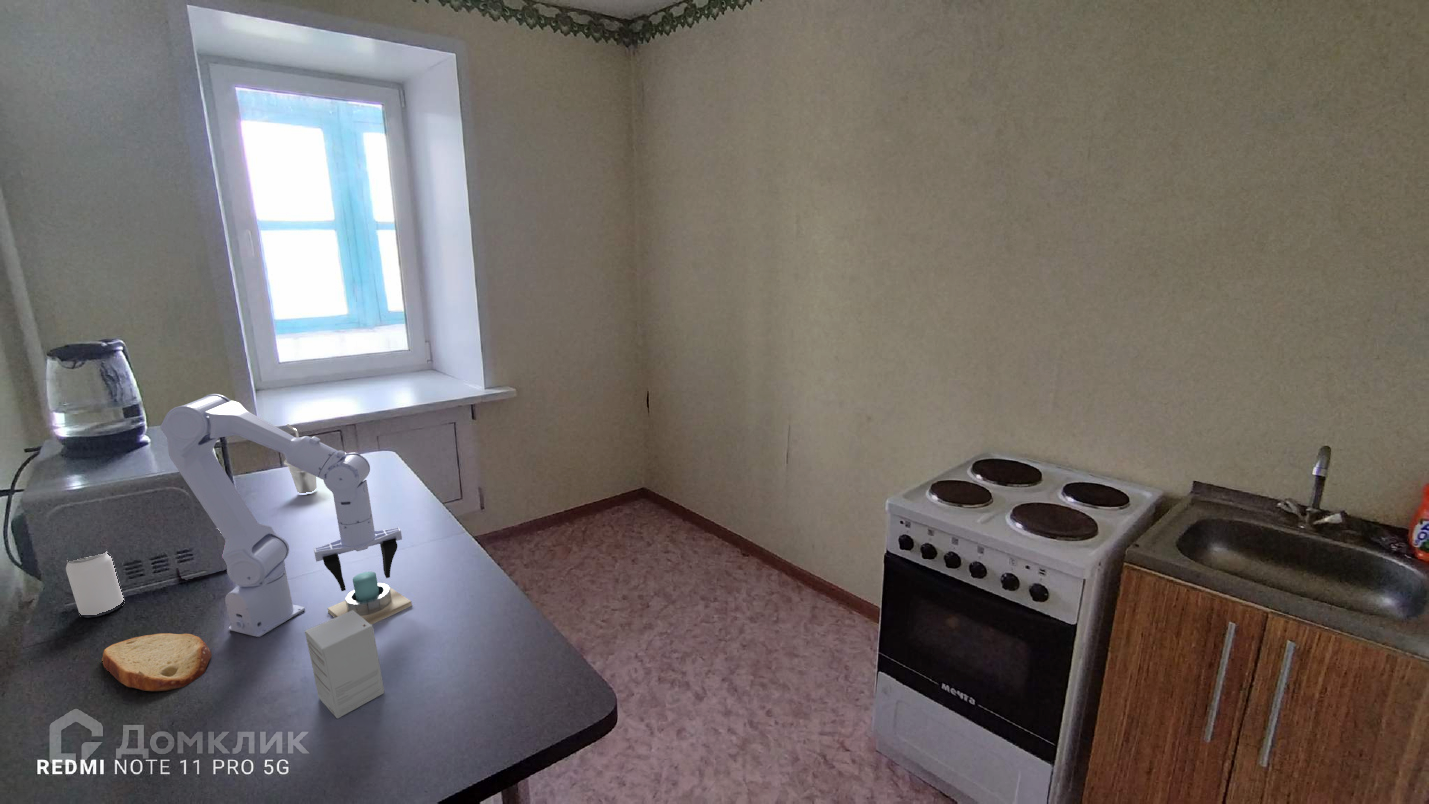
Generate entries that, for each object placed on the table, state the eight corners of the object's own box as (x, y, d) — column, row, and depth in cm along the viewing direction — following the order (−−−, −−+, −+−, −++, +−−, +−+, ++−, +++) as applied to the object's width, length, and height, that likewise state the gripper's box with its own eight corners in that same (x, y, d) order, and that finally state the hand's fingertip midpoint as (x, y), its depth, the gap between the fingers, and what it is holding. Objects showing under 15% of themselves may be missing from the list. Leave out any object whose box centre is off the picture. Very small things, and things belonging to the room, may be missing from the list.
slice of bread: (112, 649, 111) (107, 631, 110) (233, 626, 118) (229, 609, 117) (54, 719, 95) (47, 698, 94) (197, 687, 102) (192, 668, 101)
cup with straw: (288, 501, 174) (275, 433, 169) (291, 490, 182) (278, 424, 177) (323, 494, 178) (311, 428, 173) (325, 484, 186) (314, 420, 181)
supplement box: (366, 674, 104) (354, 608, 101) (385, 694, 99) (374, 625, 96) (317, 698, 98) (303, 629, 95) (335, 720, 94) (321, 648, 91)
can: (134, 601, 126) (119, 547, 123) (100, 620, 119) (83, 564, 116) (105, 599, 126) (89, 546, 123) (70, 618, 120) (53, 563, 117)
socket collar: (369, 618, 118) (367, 607, 117) (338, 611, 120) (336, 600, 119) (399, 597, 124) (397, 586, 124) (370, 591, 127) (368, 580, 126)
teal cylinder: (369, 611, 120) (364, 583, 118) (353, 608, 121) (347, 580, 119) (385, 600, 124) (380, 573, 122) (369, 597, 125) (364, 570, 123)
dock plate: (411, 605, 123) (411, 601, 123) (354, 632, 115) (353, 628, 115) (384, 587, 130) (384, 583, 130) (328, 612, 121) (327, 608, 121)
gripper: (312, 536, 110) (324, 604, 114) (401, 515, 119) (410, 578, 122) (308, 522, 116) (320, 587, 119) (393, 503, 124) (402, 564, 127)
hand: (365, 582), depth 121 cm, fingers open, 7 cm apart
